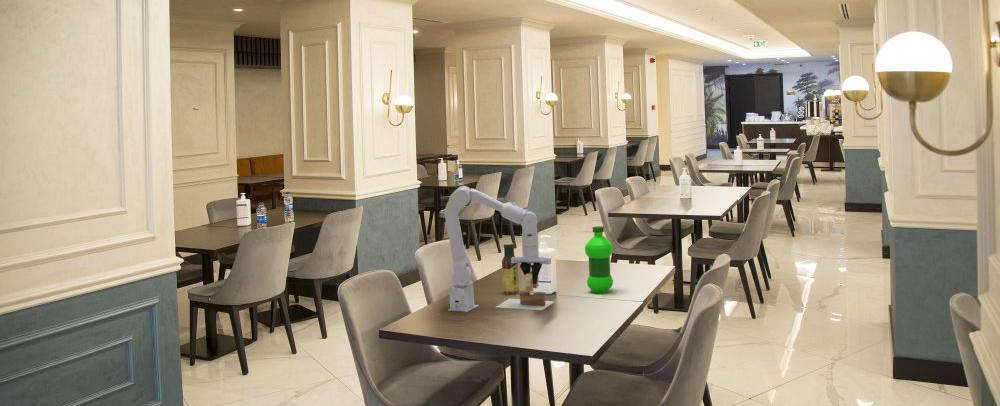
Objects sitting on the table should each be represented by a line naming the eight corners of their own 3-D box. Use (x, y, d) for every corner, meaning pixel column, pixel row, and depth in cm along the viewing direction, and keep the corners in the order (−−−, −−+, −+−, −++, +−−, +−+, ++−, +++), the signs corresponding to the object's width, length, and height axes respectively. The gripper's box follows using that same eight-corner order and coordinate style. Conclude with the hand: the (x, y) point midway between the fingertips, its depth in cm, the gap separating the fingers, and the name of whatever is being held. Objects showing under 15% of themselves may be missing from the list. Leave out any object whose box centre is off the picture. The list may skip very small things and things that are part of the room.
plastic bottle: (595, 287, 296) (593, 224, 293) (619, 290, 289) (617, 226, 286) (581, 293, 288) (579, 228, 285) (605, 296, 281) (603, 229, 278)
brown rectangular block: (543, 306, 268) (543, 293, 268) (520, 304, 272) (519, 292, 271) (545, 304, 270) (544, 292, 269) (522, 303, 274) (521, 291, 273)
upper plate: (530, 291, 266) (529, 274, 266) (525, 291, 267) (525, 274, 266) (538, 286, 274) (538, 270, 273) (533, 286, 274) (533, 270, 274)
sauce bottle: (517, 296, 287) (515, 245, 285) (501, 296, 288) (499, 245, 286) (520, 292, 293) (518, 242, 291) (504, 292, 294) (502, 242, 292)
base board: (542, 311, 263) (541, 310, 262) (495, 308, 270) (494, 307, 270) (554, 302, 274) (554, 301, 274) (509, 300, 282) (509, 298, 282)
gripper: (553, 244, 269) (554, 281, 271) (515, 243, 275) (517, 280, 277) (546, 247, 263) (547, 286, 264) (508, 246, 269) (509, 284, 270)
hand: (531, 283), depth 270 cm, fingers closed on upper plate, 2 cm apart
